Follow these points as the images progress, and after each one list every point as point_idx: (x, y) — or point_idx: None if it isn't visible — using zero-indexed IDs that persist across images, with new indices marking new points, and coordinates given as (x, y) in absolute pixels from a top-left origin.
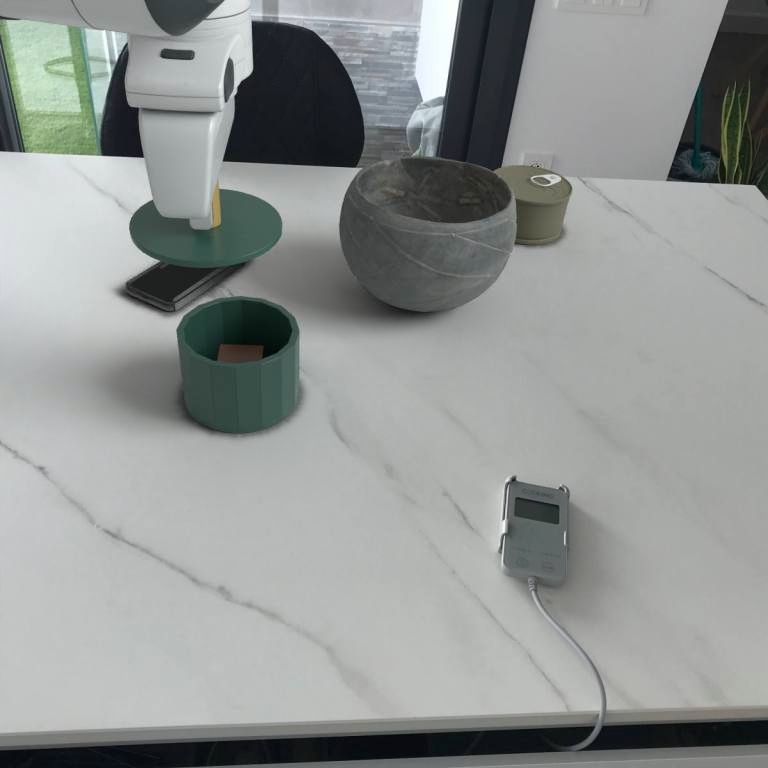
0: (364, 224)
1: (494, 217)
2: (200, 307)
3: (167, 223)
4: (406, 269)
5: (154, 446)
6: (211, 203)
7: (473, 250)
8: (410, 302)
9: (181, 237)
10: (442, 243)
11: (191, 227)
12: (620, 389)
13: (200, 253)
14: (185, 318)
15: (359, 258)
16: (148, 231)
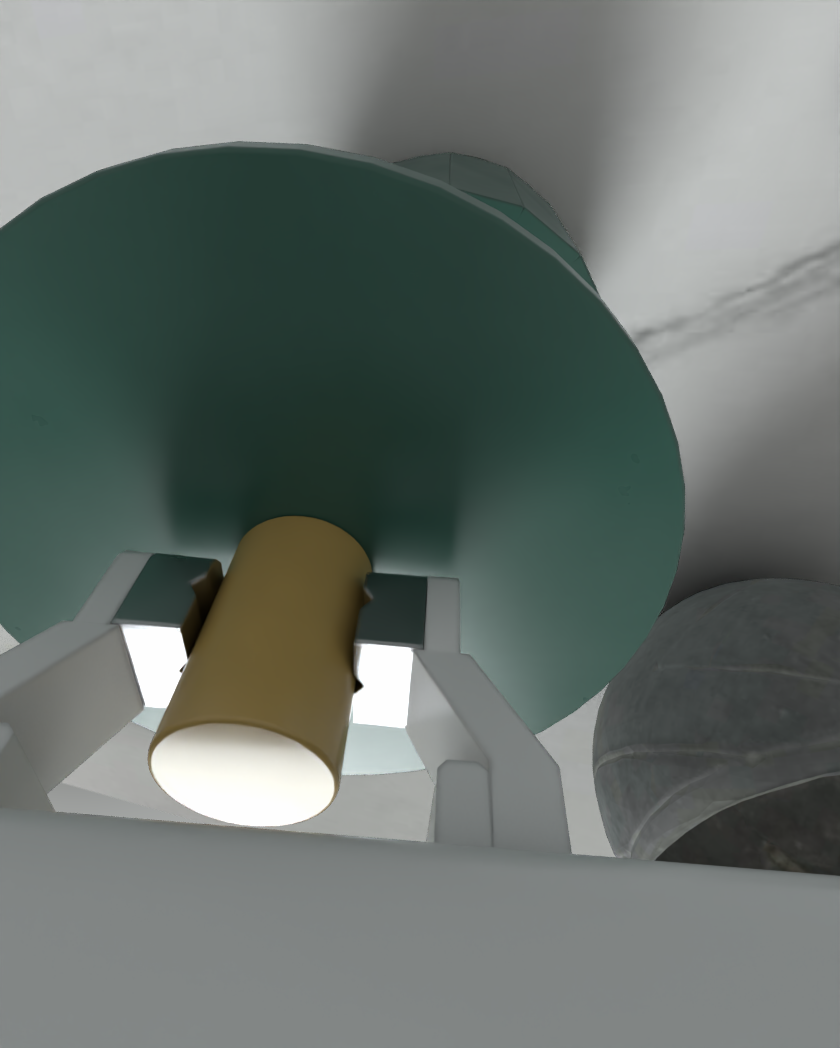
0: (754, 726)
1: None
2: (565, 261)
3: (261, 396)
4: (620, 723)
5: (257, 84)
6: (114, 733)
7: (609, 840)
8: None
9: (127, 472)
10: (620, 823)
11: (123, 551)
12: (430, 795)
13: (10, 551)
14: (506, 215)
15: (716, 646)
16: (137, 298)
